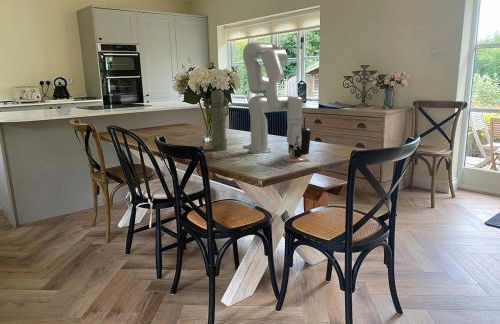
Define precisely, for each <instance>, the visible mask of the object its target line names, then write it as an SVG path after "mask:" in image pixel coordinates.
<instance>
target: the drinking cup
mask: <svg viewBox="0 0 500 324" xmlns="http://www.w3.org/2000/svg"><path fill="white" fill-rule="evenodd" d="M311 133H312V129H311V128H309V127H306V117H303V126H301V137H302V139H301V155H309V154H310V144H311V135H312V134H311Z"/></svg>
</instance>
